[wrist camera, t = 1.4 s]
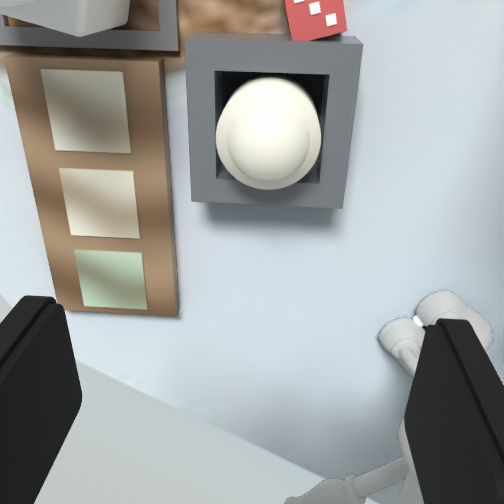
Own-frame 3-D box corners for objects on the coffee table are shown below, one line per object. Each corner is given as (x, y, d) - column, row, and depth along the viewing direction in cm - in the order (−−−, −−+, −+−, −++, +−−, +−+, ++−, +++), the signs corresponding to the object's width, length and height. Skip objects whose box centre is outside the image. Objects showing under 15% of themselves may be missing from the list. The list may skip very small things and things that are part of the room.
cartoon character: (335, 427, 43) (366, 726, 25) (240, 353, 39) (202, 642, 22) (614, 256, 33) (971, 560, 16) (520, 138, 29) (844, 362, 12)
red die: (282, -16, 26) (281, -16, 23) (334, -30, 26) (338, -32, 23) (292, 38, 27) (292, 44, 25) (341, 26, 27) (347, 31, 24)
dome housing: (196, 31, 27) (184, 38, 24) (354, 36, 27) (363, 44, 24) (200, 180, 32) (191, 201, 29) (337, 186, 31) (342, 208, 28)
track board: (14, 53, 29) (2, 56, 28) (163, 58, 28) (157, 62, 27) (65, 300, 38) (58, 310, 36) (179, 307, 37) (175, 317, 36)
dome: (223, 72, 27) (210, 90, 22) (321, 75, 26) (328, 95, 22) (224, 165, 29) (212, 199, 25) (313, 169, 29) (317, 204, 24)
